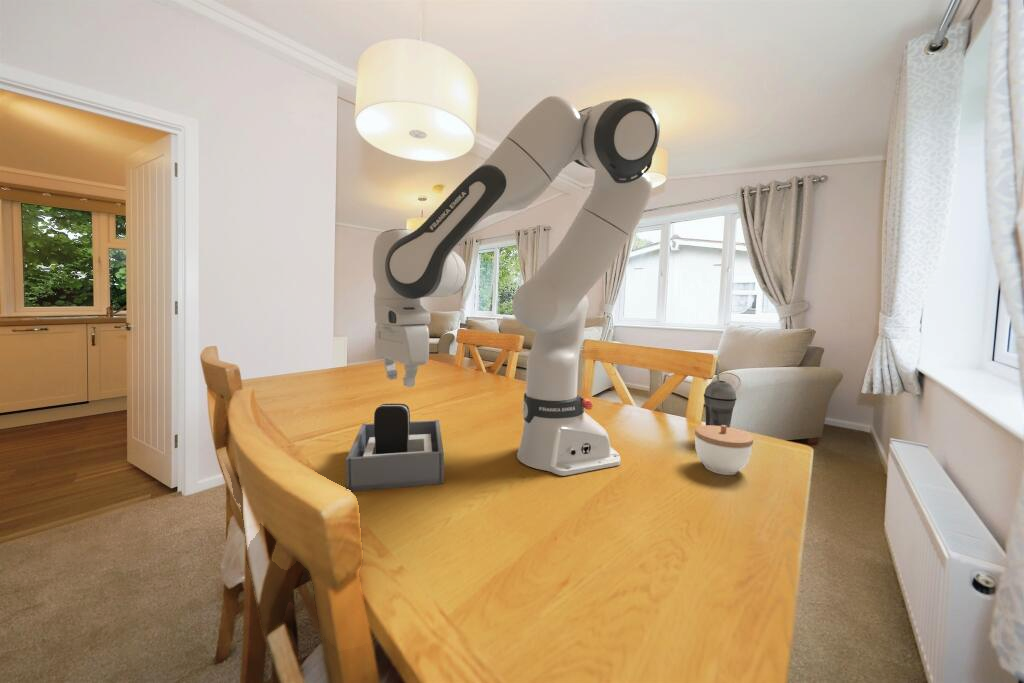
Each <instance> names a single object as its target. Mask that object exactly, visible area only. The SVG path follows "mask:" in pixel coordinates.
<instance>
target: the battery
mask: <svg viewBox="0 0 1024 683" xmlns="http://www.w3.org/2000/svg"><path fill="white" fill-rule="evenodd" d="M373 414H374V415H373V423H374V434H375V454H389V453H404V452H409V428H410V422H411V412H410V408H409V406H408V405H407V404H405V403H383V404H380V405H379V406H377V407H376V408H375V410H374V413H373Z"/></svg>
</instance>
